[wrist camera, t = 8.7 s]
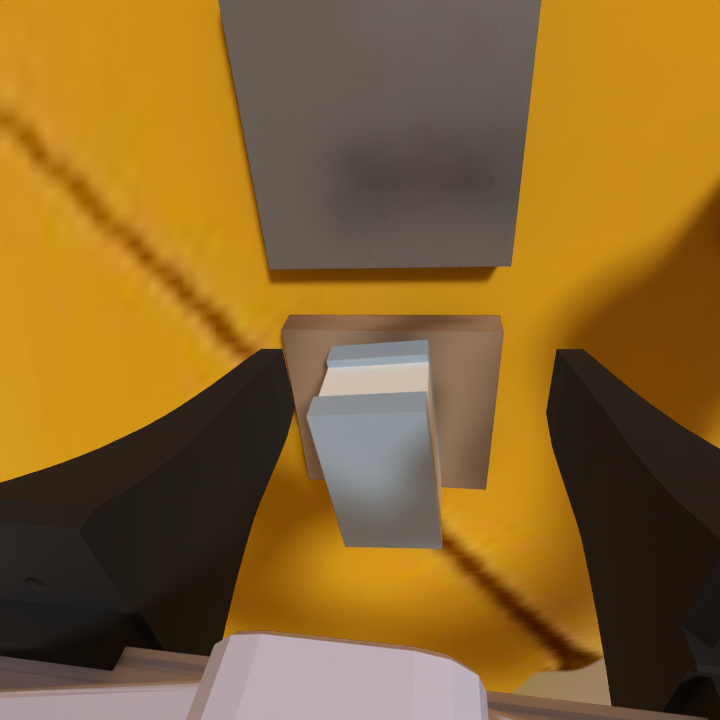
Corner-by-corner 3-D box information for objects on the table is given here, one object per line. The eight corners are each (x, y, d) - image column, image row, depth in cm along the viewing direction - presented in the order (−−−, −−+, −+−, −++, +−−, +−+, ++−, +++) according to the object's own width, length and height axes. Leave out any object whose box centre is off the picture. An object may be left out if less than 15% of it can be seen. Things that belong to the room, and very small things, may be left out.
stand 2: (499, 315, 21) (503, 331, 20) (483, 469, 27) (485, 489, 25) (289, 314, 23) (281, 330, 22) (315, 460, 28) (309, 479, 27)
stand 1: (539, -63, 14) (549, -74, 13) (506, 252, 20) (511, 266, 18) (229, -26, 16) (212, -33, 14) (279, 256, 21) (269, 269, 20)
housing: (441, 466, 25) (441, 548, 21) (360, 467, 26) (345, 546, 22) (428, 339, 21) (425, 411, 17) (331, 346, 22) (306, 416, 18)
